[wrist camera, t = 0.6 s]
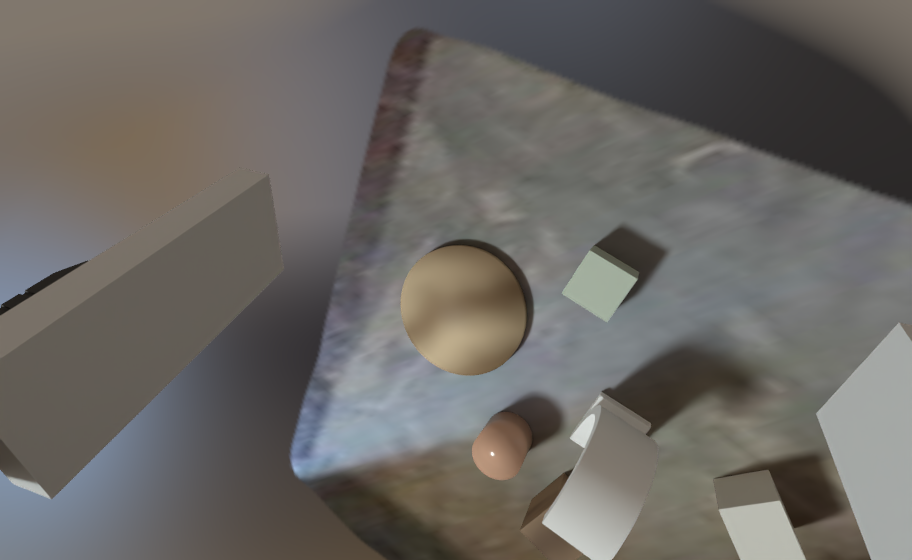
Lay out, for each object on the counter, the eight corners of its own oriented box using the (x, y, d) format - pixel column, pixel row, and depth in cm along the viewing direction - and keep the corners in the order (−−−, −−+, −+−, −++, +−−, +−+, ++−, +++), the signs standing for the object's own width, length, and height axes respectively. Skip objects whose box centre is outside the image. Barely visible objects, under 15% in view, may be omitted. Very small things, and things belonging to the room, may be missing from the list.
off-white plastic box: (793, 527, 37) (808, 565, 33) (737, 534, 39) (745, 571, 35) (768, 468, 37) (780, 500, 33) (712, 478, 38) (718, 509, 35)
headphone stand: (571, 433, 42) (541, 522, 31) (608, 382, 40) (589, 458, 29) (618, 465, 41) (604, 569, 30) (658, 414, 39) (659, 505, 28)
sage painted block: (639, 271, 38) (637, 279, 35) (610, 312, 39) (607, 322, 36) (594, 244, 38) (589, 250, 36) (568, 285, 40) (561, 293, 37)
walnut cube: (602, 509, 43) (596, 544, 38) (568, 534, 44) (559, 571, 40) (564, 472, 43) (554, 502, 39) (532, 498, 45) (519, 530, 41)
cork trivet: (553, 334, 41) (552, 337, 40) (449, 392, 46) (446, 396, 45) (476, 218, 42) (473, 219, 41) (382, 288, 47) (378, 290, 46)
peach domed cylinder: (541, 445, 44) (531, 469, 40) (503, 462, 45) (490, 486, 42) (515, 404, 44) (502, 424, 40) (478, 422, 46) (462, 443, 42)
